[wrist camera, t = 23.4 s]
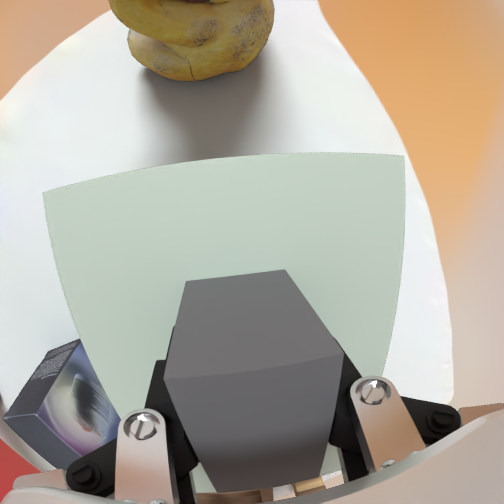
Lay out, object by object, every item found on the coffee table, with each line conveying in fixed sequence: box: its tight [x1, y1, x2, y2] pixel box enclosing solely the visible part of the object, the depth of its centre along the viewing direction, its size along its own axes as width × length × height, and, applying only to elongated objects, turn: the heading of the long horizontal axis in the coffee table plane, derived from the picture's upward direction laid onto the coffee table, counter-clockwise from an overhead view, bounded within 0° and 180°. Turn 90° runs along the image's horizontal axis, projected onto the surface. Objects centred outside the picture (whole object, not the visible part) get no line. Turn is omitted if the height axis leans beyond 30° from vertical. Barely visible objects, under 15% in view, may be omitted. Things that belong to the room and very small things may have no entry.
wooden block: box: [292, 476, 326, 497], centre depth 28 cm, size 4×4×6 cm
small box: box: [3, 339, 121, 471], centre depth 16 cm, size 11×6×10 cm, turn 23°
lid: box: [43, 153, 405, 493], centre depth 10 cm, size 14×22×6 cm, turn 4°
